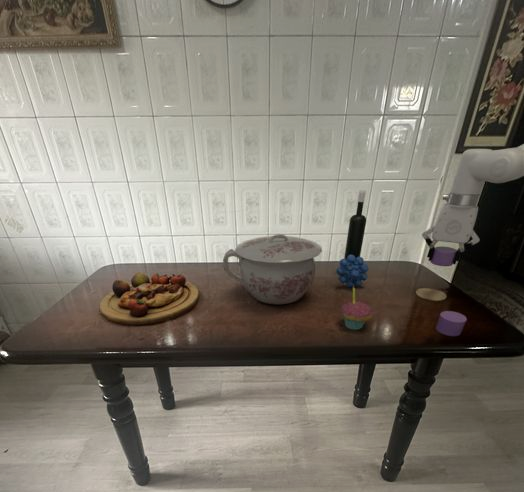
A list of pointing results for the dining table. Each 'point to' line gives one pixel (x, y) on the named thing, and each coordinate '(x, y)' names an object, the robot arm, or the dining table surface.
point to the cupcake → (356, 313)
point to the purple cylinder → (443, 256)
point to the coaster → (431, 294)
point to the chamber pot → (275, 267)
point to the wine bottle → (356, 229)
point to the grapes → (352, 271)
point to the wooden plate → (148, 299)
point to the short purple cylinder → (451, 323)
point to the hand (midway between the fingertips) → (441, 261)
